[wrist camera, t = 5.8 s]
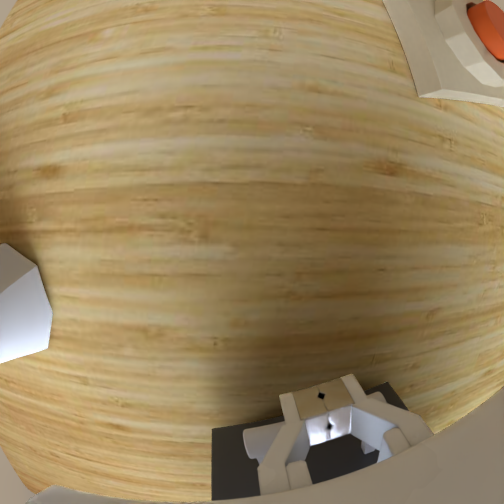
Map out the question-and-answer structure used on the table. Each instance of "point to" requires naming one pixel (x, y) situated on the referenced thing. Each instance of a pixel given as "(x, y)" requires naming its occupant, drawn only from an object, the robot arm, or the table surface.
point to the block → (446, 51)
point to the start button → (489, 26)
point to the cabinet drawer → (261, 438)
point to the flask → (22, 306)
